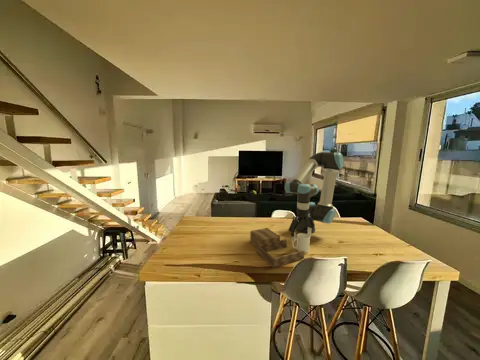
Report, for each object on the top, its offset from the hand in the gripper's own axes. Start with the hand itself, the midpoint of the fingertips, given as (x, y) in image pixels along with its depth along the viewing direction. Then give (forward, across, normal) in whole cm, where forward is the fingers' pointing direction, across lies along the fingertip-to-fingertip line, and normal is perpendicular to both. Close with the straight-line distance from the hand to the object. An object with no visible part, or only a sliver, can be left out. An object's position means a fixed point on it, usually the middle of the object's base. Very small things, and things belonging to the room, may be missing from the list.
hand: (301, 238), depth 143 cm
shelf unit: (+7, +18, -8) cm, 21 cm away
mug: (+8, +1, 0) cm, 8 cm away
